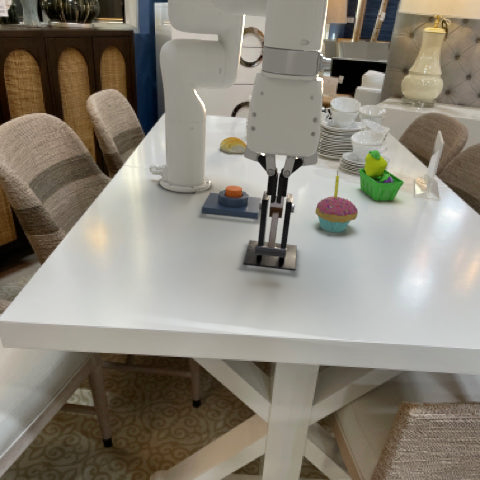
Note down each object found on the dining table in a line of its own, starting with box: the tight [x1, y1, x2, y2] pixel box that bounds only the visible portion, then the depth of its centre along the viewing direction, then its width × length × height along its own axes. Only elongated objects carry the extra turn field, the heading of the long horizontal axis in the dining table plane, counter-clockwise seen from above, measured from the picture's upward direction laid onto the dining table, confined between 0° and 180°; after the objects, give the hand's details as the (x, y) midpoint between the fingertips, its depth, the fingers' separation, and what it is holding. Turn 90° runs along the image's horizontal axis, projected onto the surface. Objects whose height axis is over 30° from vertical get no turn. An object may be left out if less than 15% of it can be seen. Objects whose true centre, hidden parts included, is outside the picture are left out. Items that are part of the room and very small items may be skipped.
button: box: [225, 185, 243, 198], centre depth 102 cm, size 4×4×2 cm
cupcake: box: [315, 171, 359, 233], centre depth 96 cm, size 9×8×12 cm
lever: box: [255, 195, 287, 258], centre depth 78 cm, size 12×5×2 cm, turn 173°
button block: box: [201, 189, 263, 220], centre depth 104 cm, size 12×10×4 cm
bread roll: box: [219, 136, 247, 155], centre depth 149 cm, size 8×9×4 cm
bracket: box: [243, 190, 298, 271], centre depth 83 cm, size 10×9×12 cm
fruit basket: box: [358, 149, 405, 202], centre depth 119 cm, size 11×9×11 cm
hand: (276, 200), depth 72 cm, fingers closed
